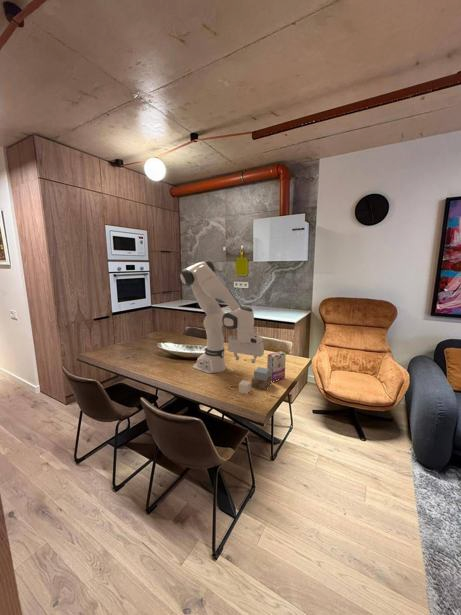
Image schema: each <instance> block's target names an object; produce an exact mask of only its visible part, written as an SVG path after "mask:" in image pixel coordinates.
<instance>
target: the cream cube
mask: <svg viewBox="0 0 461 615" xmlns="http://www.w3.org/2000/svg"><path fill="white" fill-rule="evenodd" d="M251 385H252V381H251V382H250V381H247V380H243V379H242V380H241V381H240V382H239V383H238V393H241V394H244V393H245V394H244V395H248V394H249V393H250V392H251V388H252V387H251ZM249 391H250V392H249ZM248 392H249V393H248Z"/></svg>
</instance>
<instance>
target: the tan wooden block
mask: <svg viewBox="0 0 461 615" xmlns="http://www.w3.org/2000/svg"><path fill="white" fill-rule="evenodd" d="M271 380H272V376H269V377H268V379H267V380H266V381H262V380H258V379H254V376H253V377H252V379H251V388H254V387H255V388H254V389H258V388H260V389H259V390H262V389H265V390H264V391H267V390H268V389H269V388H270V386H271V385H272V382H271ZM270 384H271V385H270ZM268 387H269V388H268ZM267 388H268V389H267Z"/></svg>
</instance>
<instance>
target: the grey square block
mask: <svg viewBox="0 0 461 615" xmlns="http://www.w3.org/2000/svg"><path fill="white" fill-rule="evenodd" d="M269 371H270V369H267V367H266V368H265V367H261V366H258V367H256V368H255V370H253V377H254V379H258V380H262V381H266V380H267V379H268V377H269Z"/></svg>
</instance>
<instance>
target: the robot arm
mask: <svg viewBox="0 0 461 615" xmlns="http://www.w3.org/2000/svg"><path fill="white" fill-rule="evenodd" d="M215 270H216V268H215V266H214V263H213V262H212V261H210V260H208V259H207V260H206V259H205V260H203V261H200V262H195V263H194V264H192V265H190V266H188V267H187V268H183V269H182V270H181V271H180V273H179V276H180V280H181V283H183V284H184V285H185V286H190V287H191V290H192V293H193V295H194V298H195V299H196V301H197V303H198V306H199V307H200V309H202V310H203V312H204V313H205V314H206V316H205V317H204V320H203V327H204V328H205V332H206V348H204V349H203V353H202V354H201V355H200V356H198V357H197V360H196V363H194V364H193V366H192V368H193V369H194V370H198V371H199V372H203V373H205V374H212V373H214V374H215V373H221V372H224V371H225V370H226V369H227V366H226V362H225V346H224V343H225V341H224V340H225V338H224V335H223V327H224V328H225V329H227V330H237V332H236V335H233V334H230V335H229V336H227V337H228V338H227V341H228V344H227V351H228V353H229V352H230V353H233V356H234V357H235V361H240V356H238V354H242V355H246V356H253V359H251V364H256V359H257V358H258V357H259V358H261V357H263V355H265V347H264V346H265V345H264V343H263V337H262V335H261V336H260V335H258V334H257V333H255V330H254V325H255V315H254V311H253V309H252V307H249V306H244V305H243V306H242V305H241V303H240V302H239V301H238V300H237V298H236V297H235V296H234V295H233V293H232V292H231V291H230V290H229V289H228V288H227V287H226V286H225V285H224V284H223V283H222V281H220V279H219V278H218V276H217V275H216V273H215V272H216V271H215ZM216 299H218V300H221V301H223V302H224V303H225V304H226V305H227V306H228V308H229V309H230V310H231V311H228V312H225V311H224V310H223V309H222V308H221V306H220V305H219V303H218V302H217V300H216Z"/></svg>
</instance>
